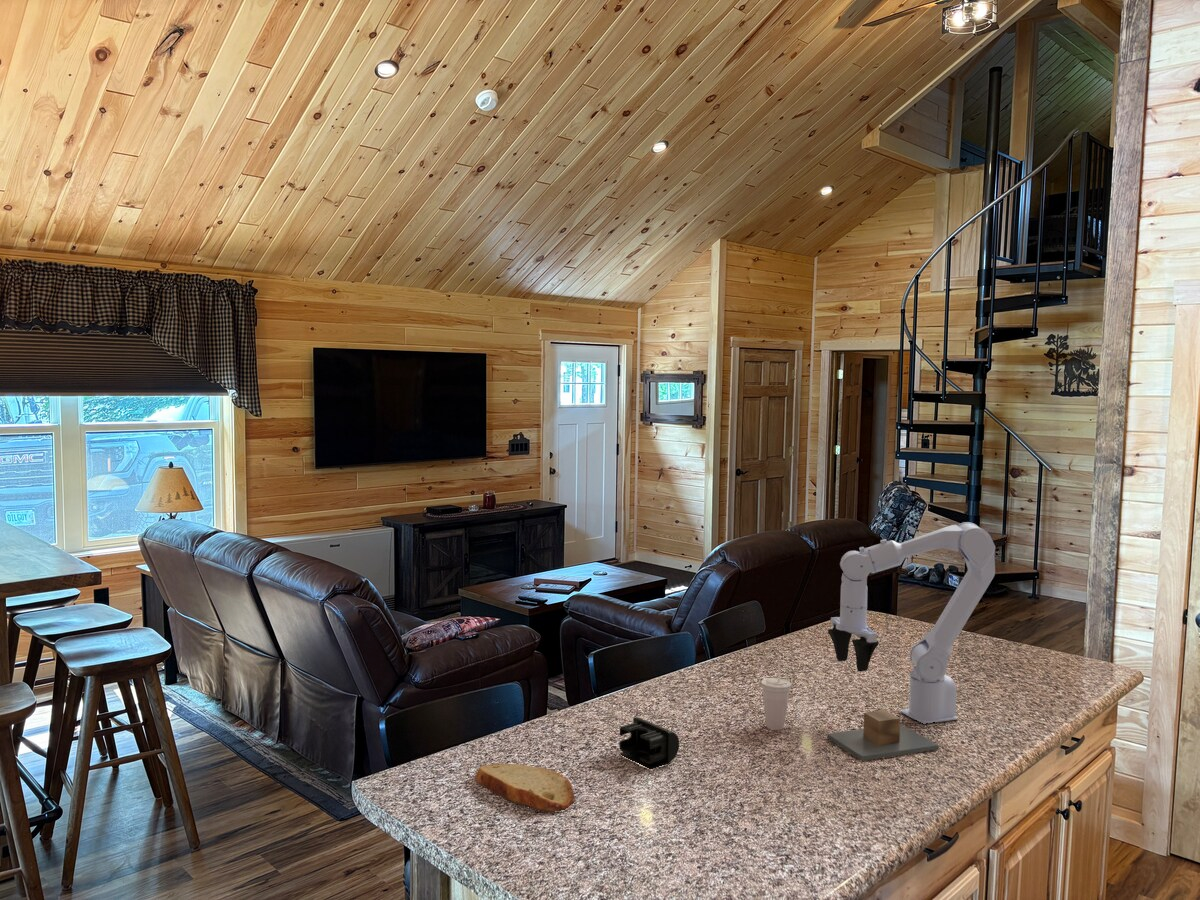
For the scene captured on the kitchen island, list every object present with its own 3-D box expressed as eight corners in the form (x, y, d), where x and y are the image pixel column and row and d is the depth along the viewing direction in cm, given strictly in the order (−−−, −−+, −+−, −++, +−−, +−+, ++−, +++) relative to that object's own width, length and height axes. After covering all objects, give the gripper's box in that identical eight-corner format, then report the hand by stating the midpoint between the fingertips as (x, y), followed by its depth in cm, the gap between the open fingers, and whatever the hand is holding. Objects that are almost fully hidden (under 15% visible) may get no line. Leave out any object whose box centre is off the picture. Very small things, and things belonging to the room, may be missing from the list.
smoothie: (790, 733, 188) (792, 668, 187) (759, 731, 189) (760, 665, 188) (790, 722, 194) (791, 659, 193) (760, 720, 196) (761, 656, 195)
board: (899, 728, 192) (900, 723, 192) (938, 749, 180) (938, 745, 180) (827, 738, 186) (827, 733, 186) (862, 761, 174) (862, 756, 174)
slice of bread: (475, 772, 169) (475, 753, 168) (571, 770, 170) (571, 751, 170) (468, 818, 151) (468, 797, 150) (575, 815, 152) (576, 794, 152)
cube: (883, 733, 186) (884, 709, 186) (899, 742, 181) (900, 718, 181) (863, 736, 184) (864, 712, 184) (878, 745, 180) (879, 721, 179)
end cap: (679, 762, 173) (680, 728, 173) (652, 772, 169) (653, 737, 168) (644, 746, 181) (644, 713, 180) (617, 755, 176) (618, 722, 176)
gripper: (819, 599, 205) (818, 657, 206) (857, 614, 192) (856, 677, 193) (846, 597, 208) (844, 655, 209) (885, 612, 194) (883, 674, 195)
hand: (851, 665), depth 201 cm, fingers open, 7 cm apart
